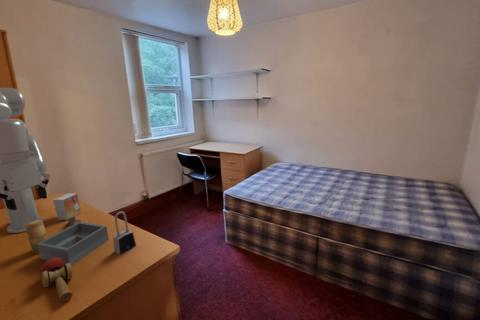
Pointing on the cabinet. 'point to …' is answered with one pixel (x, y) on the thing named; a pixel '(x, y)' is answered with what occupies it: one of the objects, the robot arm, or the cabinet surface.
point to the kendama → (57, 277)
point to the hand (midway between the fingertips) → (28, 203)
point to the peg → (36, 234)
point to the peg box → (73, 242)
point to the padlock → (123, 238)
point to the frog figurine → (72, 222)
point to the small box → (67, 206)
